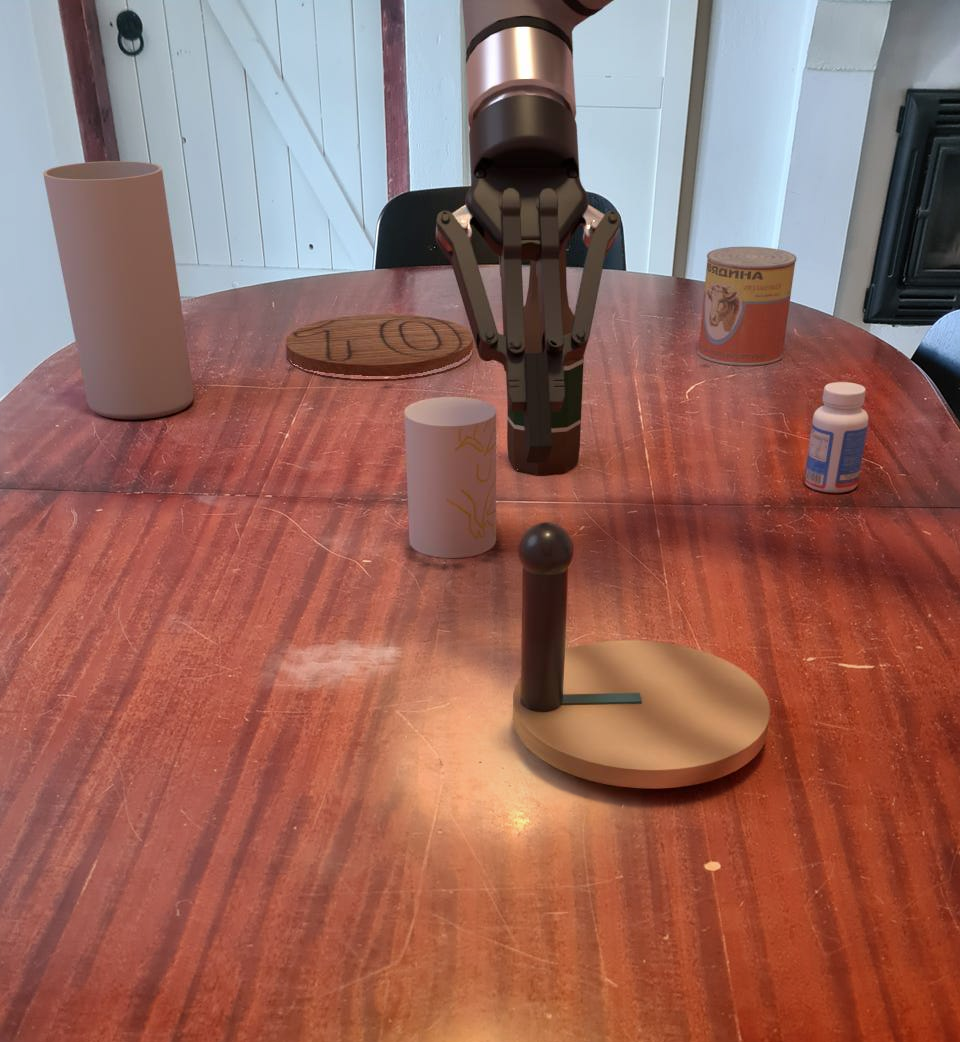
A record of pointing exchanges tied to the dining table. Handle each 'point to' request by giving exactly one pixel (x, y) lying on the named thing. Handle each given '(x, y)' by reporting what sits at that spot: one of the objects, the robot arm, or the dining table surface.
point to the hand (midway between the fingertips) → (538, 454)
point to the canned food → (746, 305)
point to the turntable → (624, 693)
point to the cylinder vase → (121, 286)
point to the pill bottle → (837, 439)
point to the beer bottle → (569, 416)
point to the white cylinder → (451, 476)
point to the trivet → (378, 345)
